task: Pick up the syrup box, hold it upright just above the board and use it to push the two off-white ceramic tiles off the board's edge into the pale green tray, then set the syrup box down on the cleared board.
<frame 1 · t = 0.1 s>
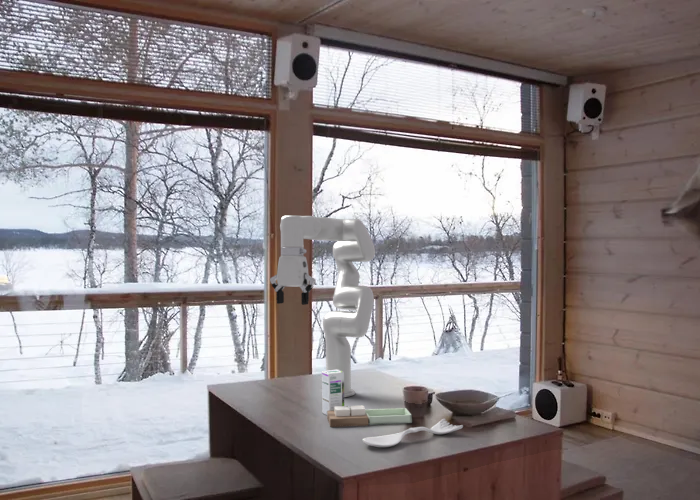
hand: (292, 303, 211), 37 cm above the table, tool pointing down, fingers open, 9 cm apart
board: (347, 421, 202), on the table
spoon: (411, 441, 184), on the table
tile 2: (357, 413, 203), point 2 cm above the table, touching board
syrup box: (333, 414, 212), on the table
tray: (388, 420, 204), on the table
tile 1: (341, 414, 202), point 2 cm above the table, touching board
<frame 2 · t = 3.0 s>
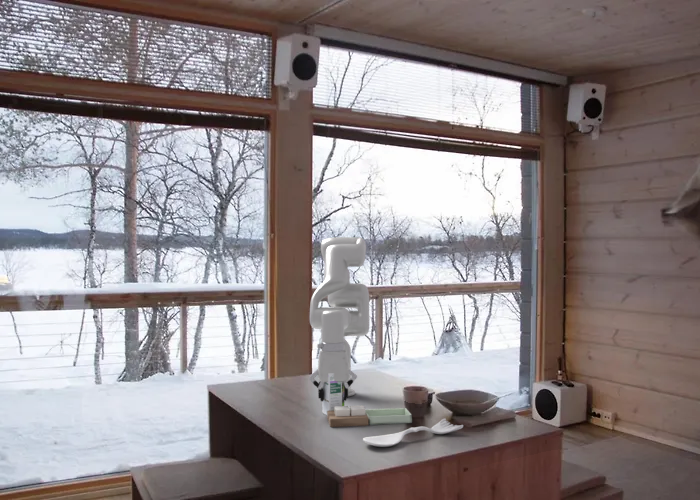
hand: (333, 399, 212), 5 cm above the table, tool pointing down, fingers closed on syrup box, 7 cm apart
syrup box: (333, 414, 212), on the table, touching gripper
everything else where it was.
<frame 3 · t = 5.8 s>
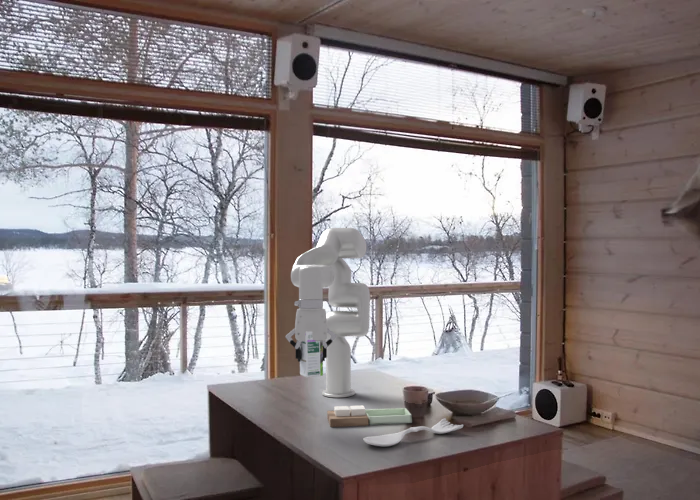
hand: (311, 360, 201), 20 cm above the table, tool pointing down, fingers closed on syrup box, 7 cm apart
syrup box: (311, 376, 201), point 15 cm above the table, touching gripper
everything else where it was.
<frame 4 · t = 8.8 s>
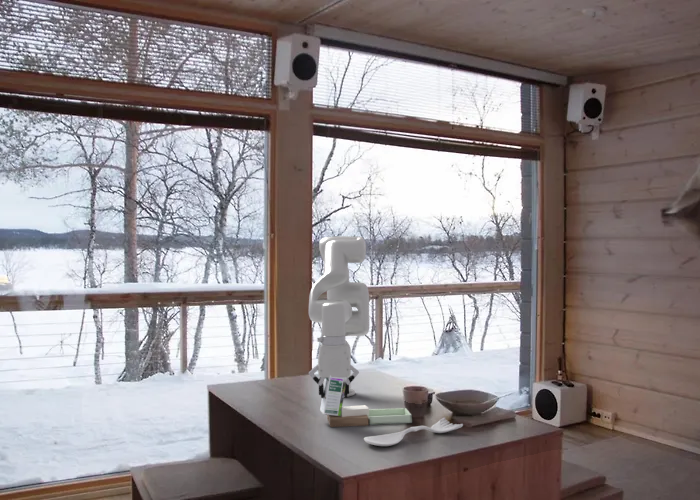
hand: (333, 396, 201), 8 cm above the table, tool pointing down, fingers closed on syrup box, 6 cm apart
tile 2: (360, 413, 203), point 2 cm above the table, touching board, tile 1
syrup box: (329, 414, 201), point 3 cm above the table, touching board, gripper, tile 1
tile 1: (347, 414, 202), point 3 cm above the table, touching board, syrup box, tile 2
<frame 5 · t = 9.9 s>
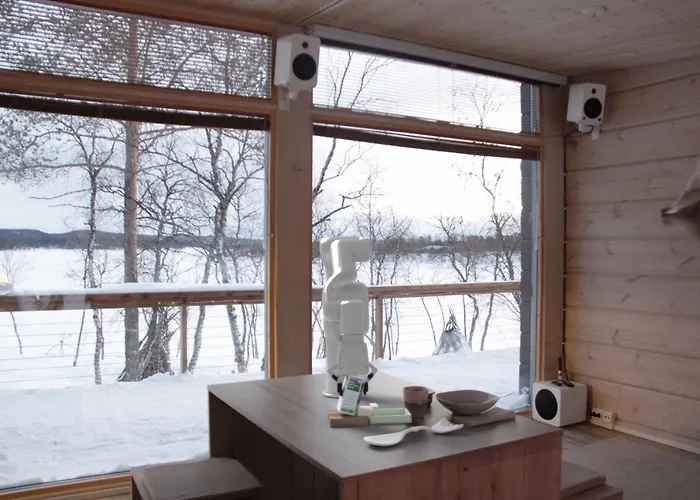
hand: (352, 394, 202), 9 cm above the table, tool pointing down, fingers closed on syrup box, 7 cm apart
tile 2: (371, 412, 204), point 3 cm above the table, tilted 90°, touching tray
syrup box: (345, 412, 201), point 3 cm above the table, touching gripper
tile 1: (363, 414, 202), point 3 cm above the table, touching board
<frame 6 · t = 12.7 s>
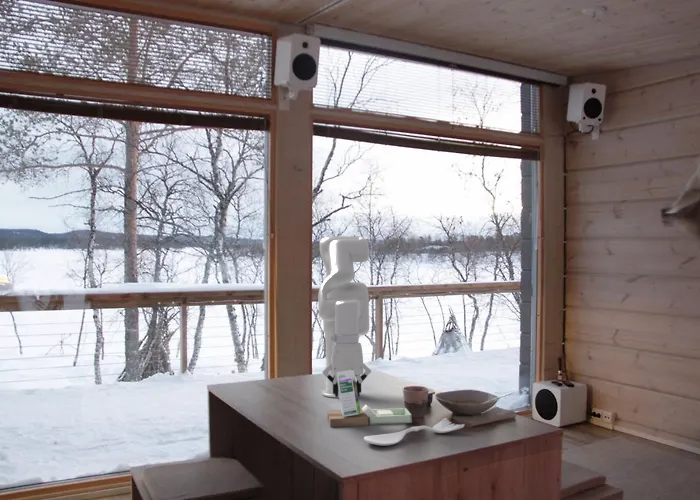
hand: (347, 394, 202), 9 cm above the table, tool pointing down, fingers closed on syrup box, 6 cm apart
tile 2: (385, 412, 205), point 2 cm above the table, tilted 180°, touching tray
syrup box: (351, 414, 201), point 3 cm above the table, touching board, gripper
tile 1: (367, 415, 202), point 2 cm above the table, tilted 43°, touching tray
when the fingers open (9 cm above the table, at t = 12.8 s): syrup box stays where it is, resting on board.
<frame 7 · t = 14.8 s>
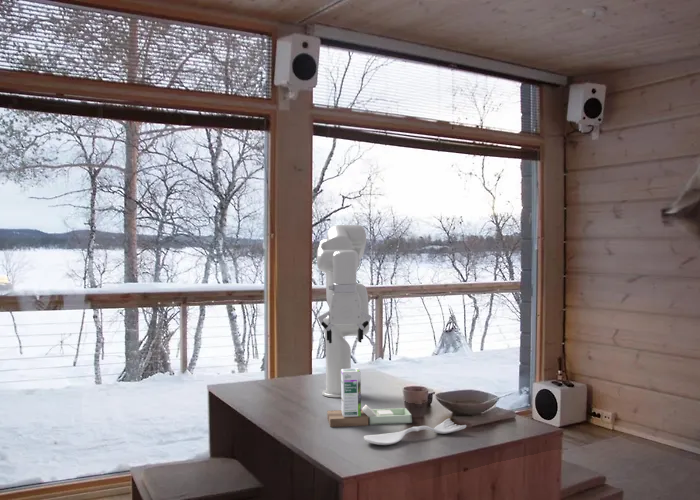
hand: (344, 342, 204), 25 cm above the table, tool pointing down, fingers open, 9 cm apart
syrup box: (351, 415, 201), point 2 cm above the table, touching board
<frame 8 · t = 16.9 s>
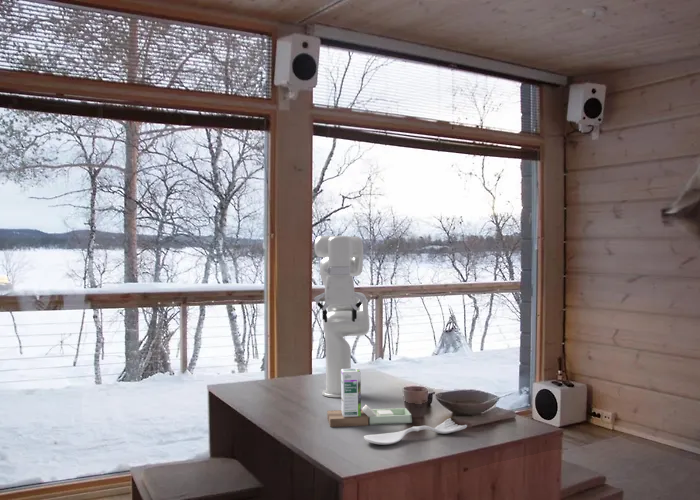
hand: (339, 321, 218), 30 cm above the table, tool pointing down, fingers open, 9 cm apart
at the end: tile 2 inside the target area on the tray (1.3 cm from its centre), point 2.5 cm above the tray's base; tile 1 inside the target area on the tray (7.1 cm from its centre), point 2.1 cm above the tray's base; syrup box tilted 0° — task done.
